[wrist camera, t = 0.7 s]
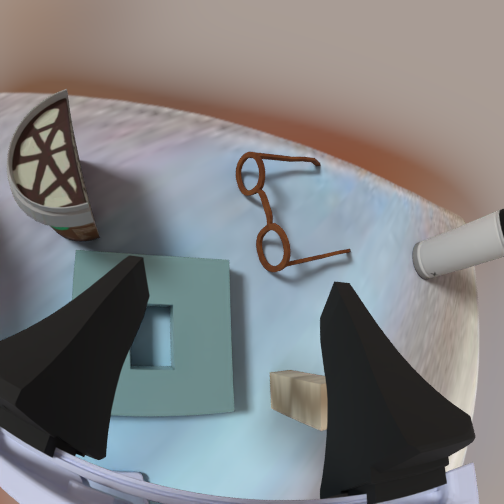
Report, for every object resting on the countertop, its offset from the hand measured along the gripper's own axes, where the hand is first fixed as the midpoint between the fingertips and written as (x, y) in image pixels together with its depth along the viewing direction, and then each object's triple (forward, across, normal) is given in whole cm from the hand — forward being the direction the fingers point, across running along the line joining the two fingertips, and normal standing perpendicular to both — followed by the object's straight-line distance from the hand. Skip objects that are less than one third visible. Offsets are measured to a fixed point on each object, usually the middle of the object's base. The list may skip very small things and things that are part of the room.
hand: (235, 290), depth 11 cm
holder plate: (+7, +8, +14) cm, 17 cm away
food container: (+13, +19, +5) cm, 24 cm away
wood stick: (+6, -5, +20) cm, 22 cm away
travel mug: (+27, -29, +16) cm, 43 cm away
